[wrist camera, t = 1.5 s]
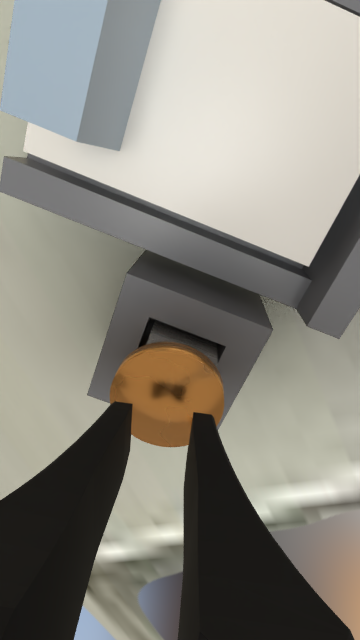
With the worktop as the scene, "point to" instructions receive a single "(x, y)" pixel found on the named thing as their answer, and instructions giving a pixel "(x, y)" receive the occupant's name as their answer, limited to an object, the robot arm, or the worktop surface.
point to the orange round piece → (169, 385)
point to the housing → (199, 270)
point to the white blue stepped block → (198, 107)
